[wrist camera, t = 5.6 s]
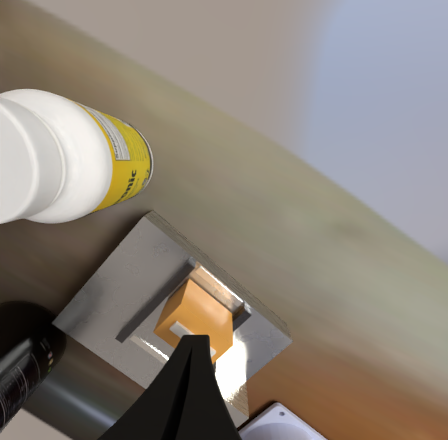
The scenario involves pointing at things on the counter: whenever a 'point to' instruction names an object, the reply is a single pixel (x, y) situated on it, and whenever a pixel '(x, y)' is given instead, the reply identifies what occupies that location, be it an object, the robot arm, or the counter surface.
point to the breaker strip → (154, 303)
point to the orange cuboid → (196, 319)
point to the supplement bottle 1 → (25, 353)
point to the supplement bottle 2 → (65, 158)
